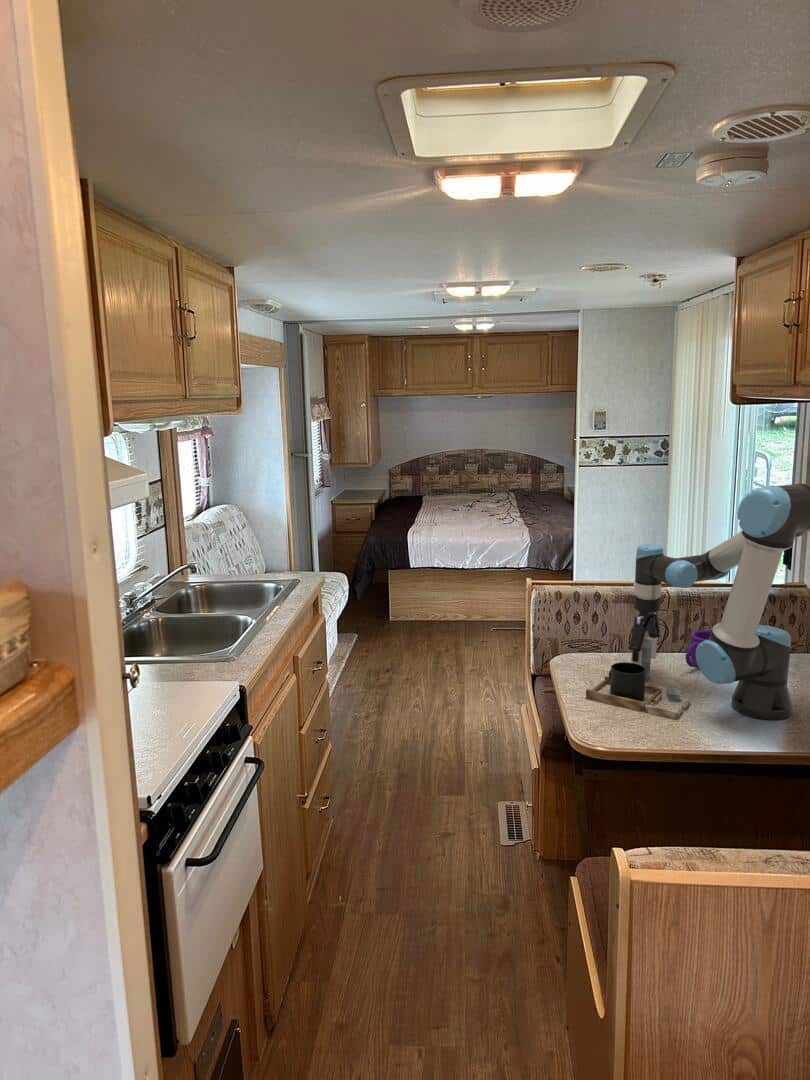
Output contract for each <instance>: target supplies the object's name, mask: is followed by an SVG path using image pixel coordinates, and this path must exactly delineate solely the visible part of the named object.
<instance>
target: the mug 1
mask: <svg viewBox="0 0 810 1080" xmlns="http://www.w3.org/2000/svg"><path fill="white" fill-rule="evenodd" d="M645 675H646V669H645V668H644V667H643V666H641V665H639V664H635V663H631V662H627V661H626V662H624V661H623V662H617V663H613V664H612V665H611V666H610V670H609V671H608V676H609V679H610V684H609V686H610V687H609V694H611V695H615V696H620V697H624V698H629V699H633V700H638V701H642V702H644V700H645V694H646V692H645V684H646V681H645Z"/></svg>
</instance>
